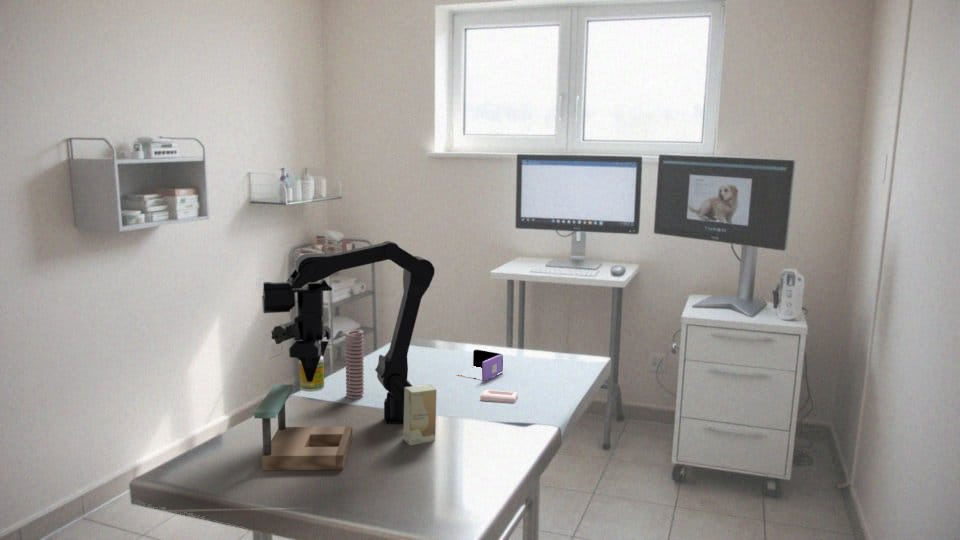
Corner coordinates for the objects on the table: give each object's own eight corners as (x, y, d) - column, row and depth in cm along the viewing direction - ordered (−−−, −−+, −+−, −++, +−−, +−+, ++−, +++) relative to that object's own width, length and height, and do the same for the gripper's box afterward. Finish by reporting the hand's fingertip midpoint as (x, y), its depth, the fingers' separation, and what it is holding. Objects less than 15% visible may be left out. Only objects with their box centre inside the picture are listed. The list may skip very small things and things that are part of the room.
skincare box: (410, 446, 160) (410, 392, 158) (402, 439, 163) (402, 386, 162) (437, 441, 163) (437, 388, 161) (429, 435, 166) (429, 383, 164)
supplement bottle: (318, 393, 164) (317, 350, 162) (295, 391, 165) (294, 349, 163) (328, 385, 169) (327, 344, 167) (306, 384, 170) (305, 343, 169)
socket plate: (352, 437, 164) (352, 384, 162) (342, 471, 146) (341, 412, 144) (275, 438, 163) (274, 384, 161) (256, 472, 145) (254, 412, 143)
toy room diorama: (507, 376, 213) (508, 353, 212) (485, 386, 203) (486, 363, 202) (473, 369, 220) (473, 347, 219) (450, 379, 210) (450, 356, 209)
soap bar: (514, 407, 187) (514, 398, 187) (479, 404, 189) (480, 395, 189) (518, 400, 192) (518, 391, 192) (484, 397, 194) (484, 388, 194)
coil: (342, 398, 190) (341, 331, 188) (352, 393, 195) (351, 327, 192) (358, 401, 189) (357, 333, 186) (367, 396, 193) (366, 329, 190)
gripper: (283, 302, 173) (285, 366, 175) (264, 319, 155) (266, 390, 157) (330, 302, 174) (332, 366, 176) (317, 319, 155) (318, 390, 157)
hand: (312, 377), depth 167 cm, fingers closed on supplement bottle, 5 cm apart
